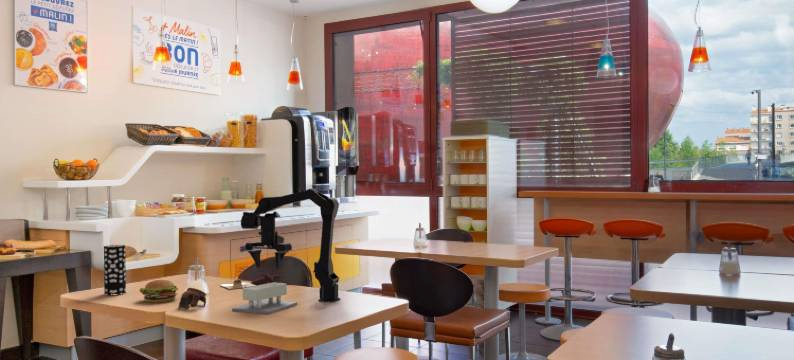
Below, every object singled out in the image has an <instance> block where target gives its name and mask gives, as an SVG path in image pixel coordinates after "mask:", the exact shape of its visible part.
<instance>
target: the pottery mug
mask: <svg viewBox="0 0 794 360" xmlns="http://www.w3.org/2000/svg"><path fill="white" fill-rule="evenodd" d="M206 295H207V293H206V292H205V291H203V290H201V289H198V288H194V287H188V288H187V289H186V290H185V291H184V292H183V293H182V294H181V297H180V298H179V299H180V300H179V302H178V309H183V310H189V307H192V308H197V307H198V303H199V301H200V302H202V303H203V306H204V307H205V306H206V304H207V298H206Z"/></svg>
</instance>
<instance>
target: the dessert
mask: <svg viewBox="0 0 794 360" xmlns="http://www.w3.org/2000/svg"><path fill="white" fill-rule="evenodd" d="M244 285H245V286H244ZM229 286H232V287H231V288H229ZM253 286H255V285H253V284H251V283H249V282H242V280H241V278H239V277H237V276H236V277H235V279H234V280H233V283H226V284H220V287H223V288H225V289H228V290H240V289H243V288H248V287H253Z"/></svg>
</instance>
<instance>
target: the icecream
mask: <svg viewBox="0 0 794 360" xmlns="http://www.w3.org/2000/svg"><path fill="white" fill-rule="evenodd" d="M280 278H281V276H280V275H279V274H274V275H273V276H271V275H270V274H268V273H267V274H266V273H263V274H261V275H260V276H259V277H258V278H257V279H254V280H253V281H251V282H250V284H252V285H254V286H258V285H263V284H268V283H273V282H275V283H276V281H279V279H280Z"/></svg>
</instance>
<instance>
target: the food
mask: <svg viewBox="0 0 794 360" xmlns="http://www.w3.org/2000/svg"><path fill="white" fill-rule="evenodd" d="M178 290H179V288H178V287H177V285H175V284H174V282H173V281H170V280H166V279H157V280H152V281H149V282H147V284H145V285H144V287H141V288H140V289H139V293H141V294H142V296H143V301H144V302H146V303H151V302H158V303H166V302H167V301H168V302H171V301H174V300H175V299H176V296H177V295H179V293H178V292H177V291H178Z"/></svg>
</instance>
